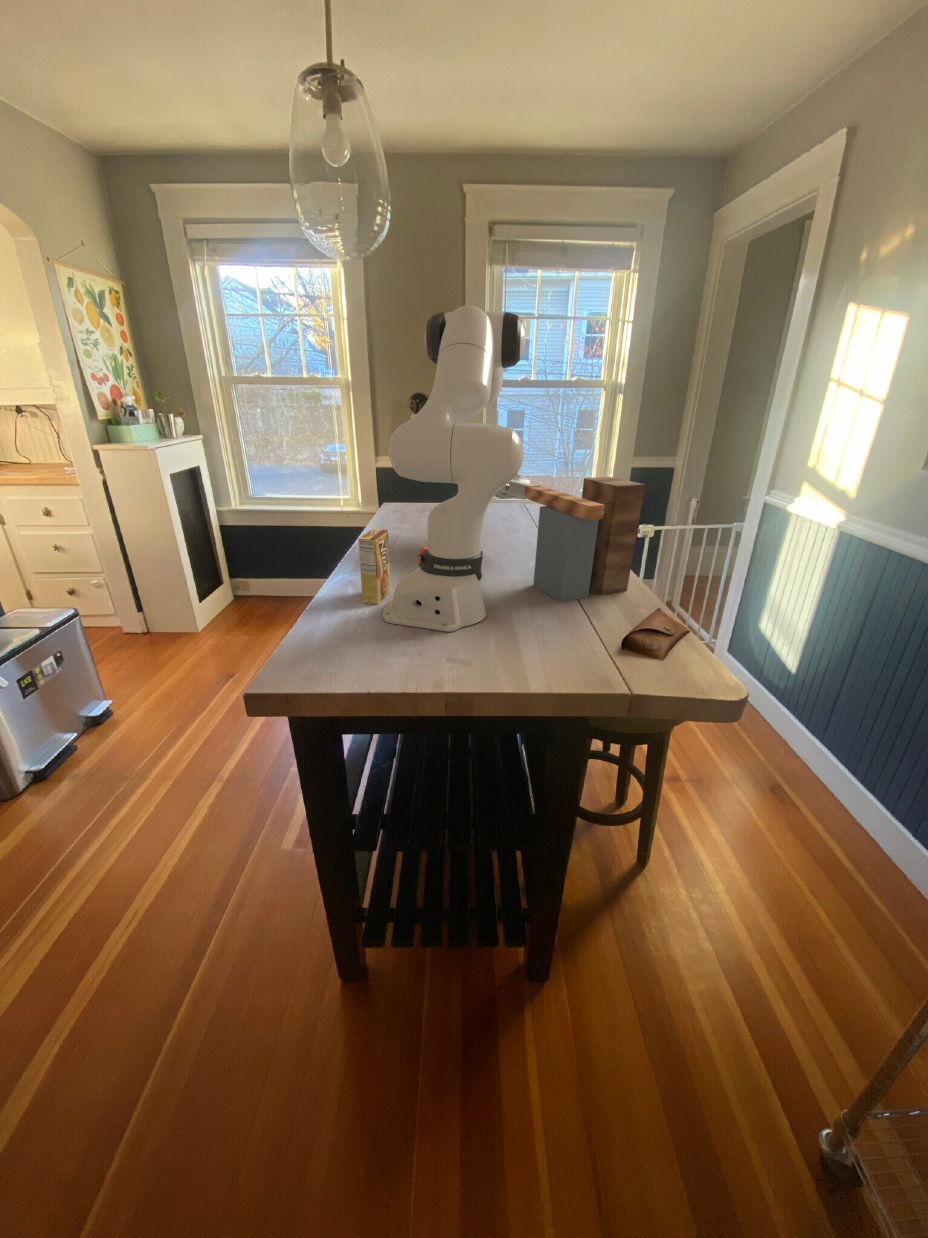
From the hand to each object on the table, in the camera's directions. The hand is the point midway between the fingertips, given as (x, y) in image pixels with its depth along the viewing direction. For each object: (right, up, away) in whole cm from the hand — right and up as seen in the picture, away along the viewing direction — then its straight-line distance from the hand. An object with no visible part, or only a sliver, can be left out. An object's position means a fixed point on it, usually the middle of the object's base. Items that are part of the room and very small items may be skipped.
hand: (522, 491), depth 129 cm
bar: (+7, -8, -15) cm, 18 cm away
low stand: (+8, -27, -9) cm, 30 cm away
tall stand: (+19, -25, -5) cm, 32 cm away
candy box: (-36, -29, -15) cm, 49 cm away
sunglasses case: (+23, -39, -32) cm, 55 cm away
